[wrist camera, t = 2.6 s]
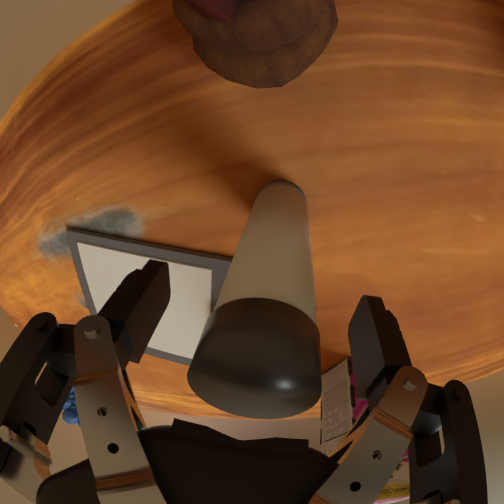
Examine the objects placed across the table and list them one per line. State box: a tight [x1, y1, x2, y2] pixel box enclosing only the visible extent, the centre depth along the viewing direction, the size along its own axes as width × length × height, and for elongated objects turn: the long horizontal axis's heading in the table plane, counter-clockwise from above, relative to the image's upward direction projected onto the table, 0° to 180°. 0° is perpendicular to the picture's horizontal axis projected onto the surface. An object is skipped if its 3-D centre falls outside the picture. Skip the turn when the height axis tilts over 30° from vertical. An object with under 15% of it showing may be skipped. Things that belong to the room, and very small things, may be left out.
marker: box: [187, 180, 321, 419], centre depth 13 cm, size 4×4×14 cm
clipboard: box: [66, 228, 233, 366], centre depth 26 cm, size 16×18×2 cm
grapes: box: [62, 387, 81, 427], centre depth 34 cm, size 12×7×12 cm, turn 27°
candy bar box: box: [320, 357, 410, 504], centre depth 21 cm, size 11×5×16 cm, turn 60°
